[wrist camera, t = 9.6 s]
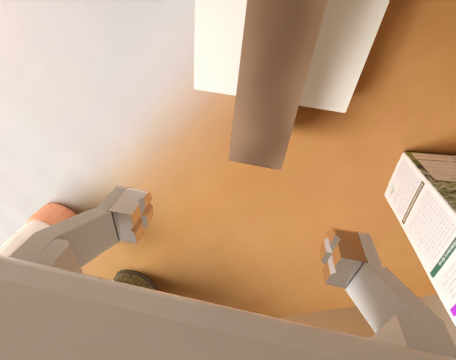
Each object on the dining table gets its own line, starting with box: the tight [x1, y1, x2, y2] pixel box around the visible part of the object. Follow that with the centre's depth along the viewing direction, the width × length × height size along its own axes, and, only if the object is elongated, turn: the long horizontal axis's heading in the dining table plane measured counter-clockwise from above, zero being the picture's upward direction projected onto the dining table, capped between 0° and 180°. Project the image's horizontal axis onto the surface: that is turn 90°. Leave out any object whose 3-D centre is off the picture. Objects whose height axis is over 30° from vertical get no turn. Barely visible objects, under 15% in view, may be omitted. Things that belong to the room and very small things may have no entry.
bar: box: [228, 0, 328, 170], centre depth 18 cm, size 4×15×4 cm, turn 174°
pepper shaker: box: [0, 203, 77, 257], centre depth 34 cm, size 7×7×19 cm
